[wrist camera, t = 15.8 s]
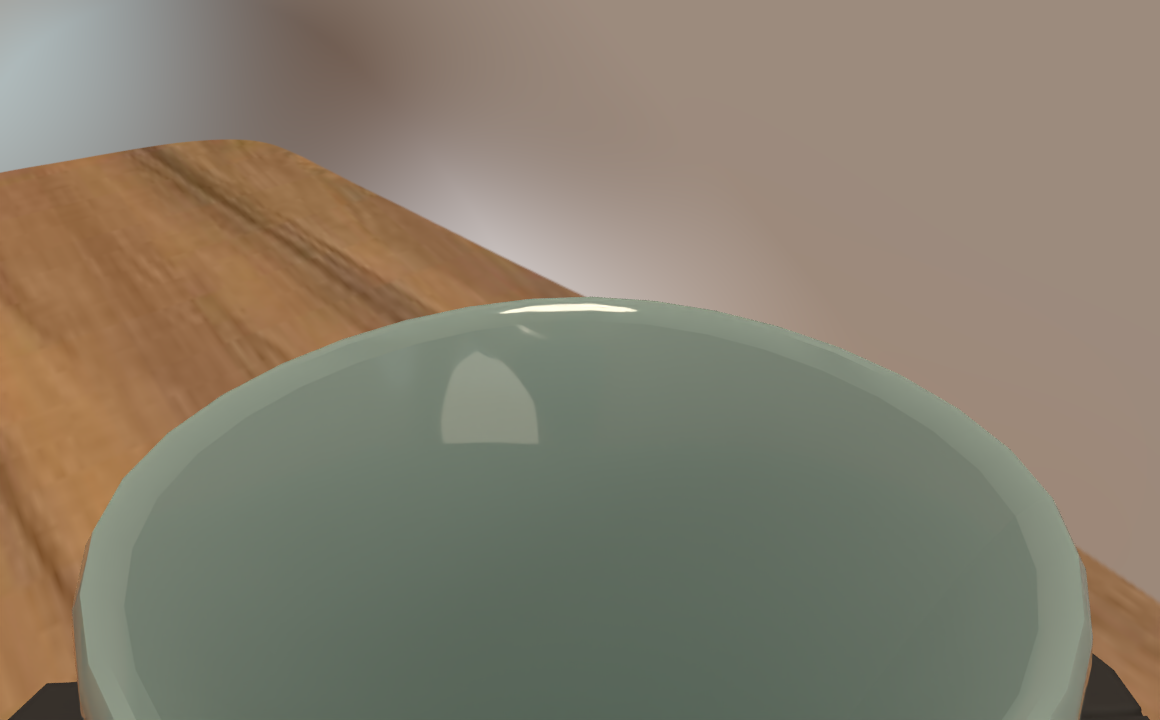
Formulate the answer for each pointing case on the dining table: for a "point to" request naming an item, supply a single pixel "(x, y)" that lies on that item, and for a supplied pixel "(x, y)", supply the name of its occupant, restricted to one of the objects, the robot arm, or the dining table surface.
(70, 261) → the dining table surface
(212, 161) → the dining table surface
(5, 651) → the dining table surface
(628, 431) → the cup
